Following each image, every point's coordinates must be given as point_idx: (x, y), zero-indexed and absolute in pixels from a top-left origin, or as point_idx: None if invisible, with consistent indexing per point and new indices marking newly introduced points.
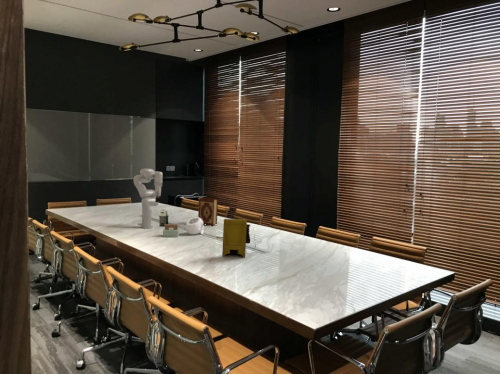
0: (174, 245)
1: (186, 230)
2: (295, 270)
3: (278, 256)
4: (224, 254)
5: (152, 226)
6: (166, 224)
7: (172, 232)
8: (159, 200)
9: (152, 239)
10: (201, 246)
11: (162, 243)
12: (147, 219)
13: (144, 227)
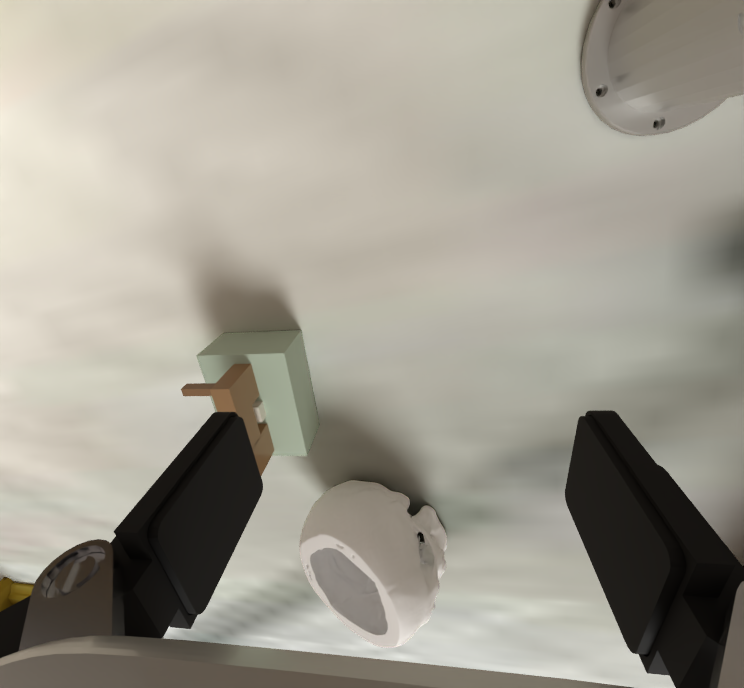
0: (49, 428)
1: (332, 488)
2: None
3: None
4: (6, 590)
5: (660, 131)
6: (220, 402)
7: None
8: (574, 496)
9: (111, 281)
10: (105, 529)
11: (50, 364)
12: (672, 41)
13: (588, 36)
